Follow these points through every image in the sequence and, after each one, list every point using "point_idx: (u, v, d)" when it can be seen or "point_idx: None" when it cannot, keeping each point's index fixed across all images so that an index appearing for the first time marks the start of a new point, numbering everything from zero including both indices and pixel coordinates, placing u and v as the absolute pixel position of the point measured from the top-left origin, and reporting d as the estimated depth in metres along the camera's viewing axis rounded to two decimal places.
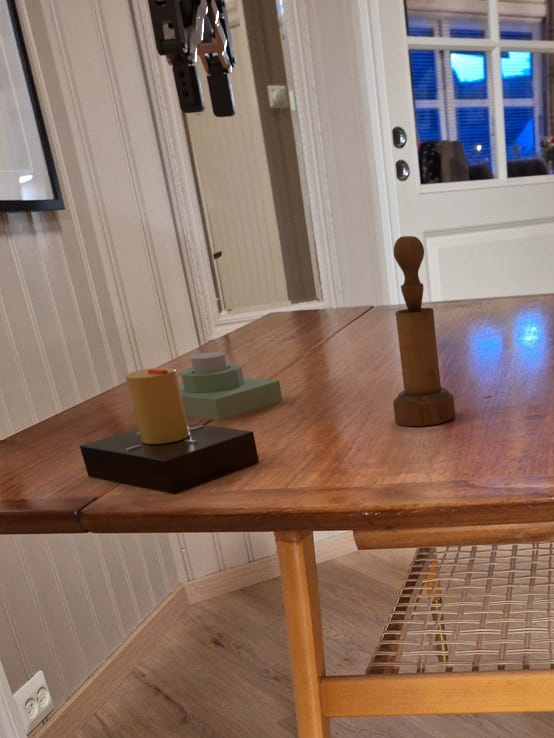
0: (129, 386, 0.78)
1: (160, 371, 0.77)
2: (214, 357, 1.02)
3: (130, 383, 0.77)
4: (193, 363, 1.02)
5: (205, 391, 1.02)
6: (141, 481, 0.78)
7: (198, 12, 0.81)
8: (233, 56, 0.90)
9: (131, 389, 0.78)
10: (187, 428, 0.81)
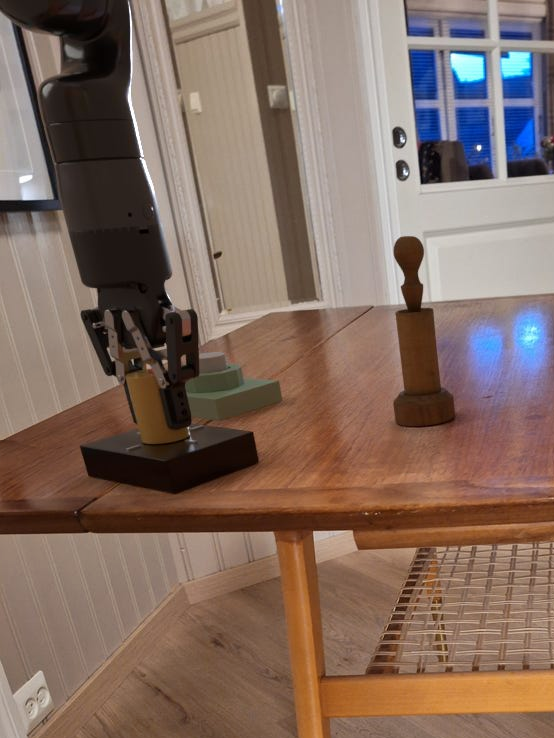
0: (129, 386, 0.78)
1: None
2: (214, 357, 1.02)
3: (130, 383, 0.77)
4: None
5: (205, 391, 1.02)
6: (141, 481, 0.78)
7: None
8: None
9: (131, 389, 0.78)
10: (187, 428, 0.81)
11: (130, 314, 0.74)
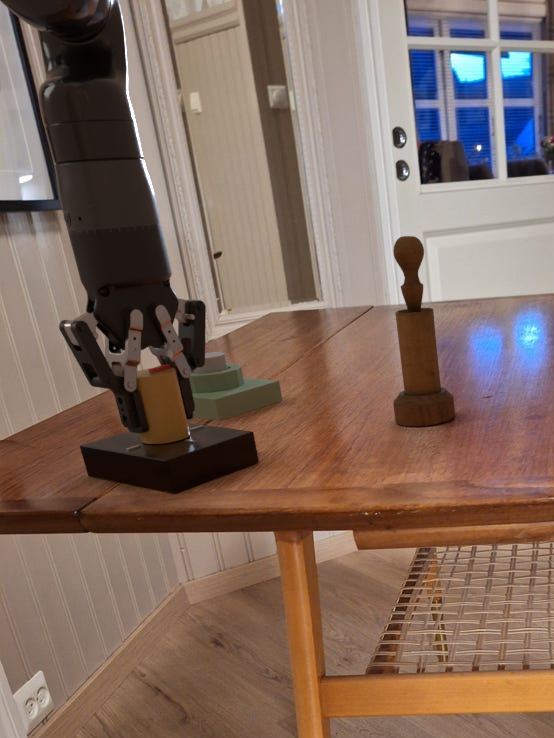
0: (163, 384, 0.78)
1: (167, 365, 0.80)
2: (214, 357, 1.02)
3: (166, 379, 0.78)
4: None
5: (205, 391, 1.02)
6: (141, 481, 0.78)
7: None
8: None
9: (166, 386, 0.78)
10: None
11: (164, 307, 0.77)
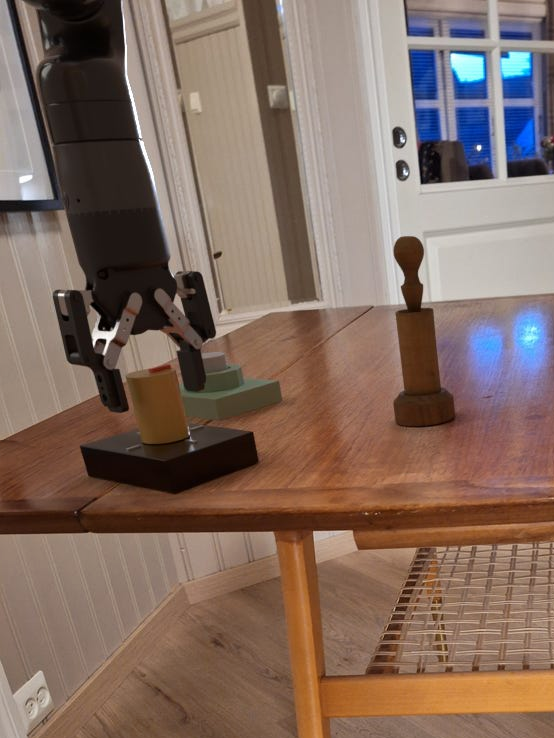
0: (163, 384, 0.78)
1: (167, 365, 0.80)
2: (214, 357, 1.02)
3: (166, 379, 0.78)
4: None
5: (205, 391, 1.02)
6: (141, 481, 0.78)
7: None
8: None
9: (166, 386, 0.78)
10: None
11: (162, 289, 0.76)
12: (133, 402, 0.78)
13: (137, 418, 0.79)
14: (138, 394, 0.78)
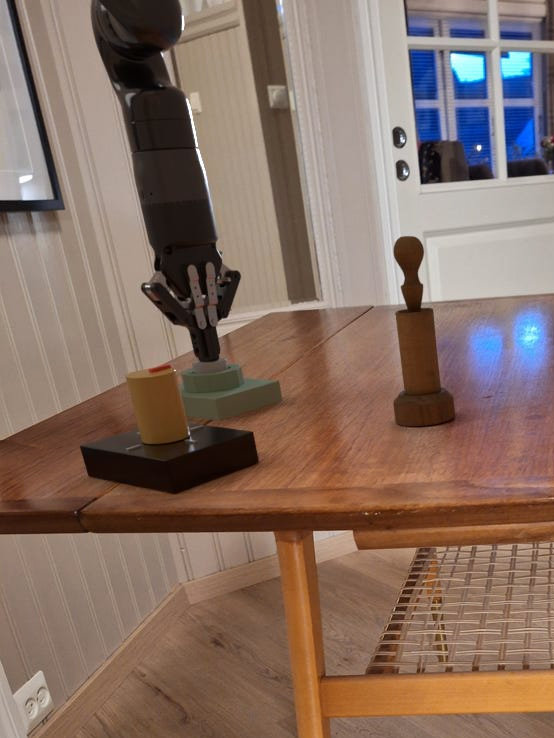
0: (163, 384, 0.78)
1: (167, 365, 0.80)
2: (215, 363, 1.02)
3: (166, 379, 0.78)
4: (194, 368, 1.03)
5: (205, 391, 1.02)
6: (141, 481, 0.78)
7: None
8: None
9: (166, 386, 0.78)
10: None
11: (213, 266, 0.99)
12: (133, 402, 0.78)
13: (137, 418, 0.79)
14: (138, 394, 0.78)
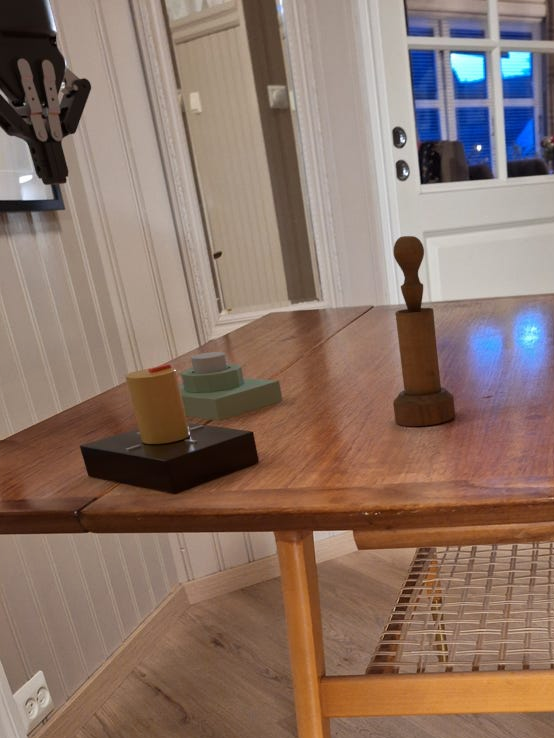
0: (163, 384, 0.78)
1: (167, 365, 0.80)
2: (214, 357, 1.02)
3: (166, 379, 0.78)
4: (193, 363, 1.02)
5: (205, 391, 1.02)
6: (141, 481, 0.78)
7: None
8: None
9: (166, 386, 0.78)
10: None
11: (52, 66, 0.86)
12: (133, 402, 0.78)
13: (137, 418, 0.79)
14: (138, 394, 0.78)
